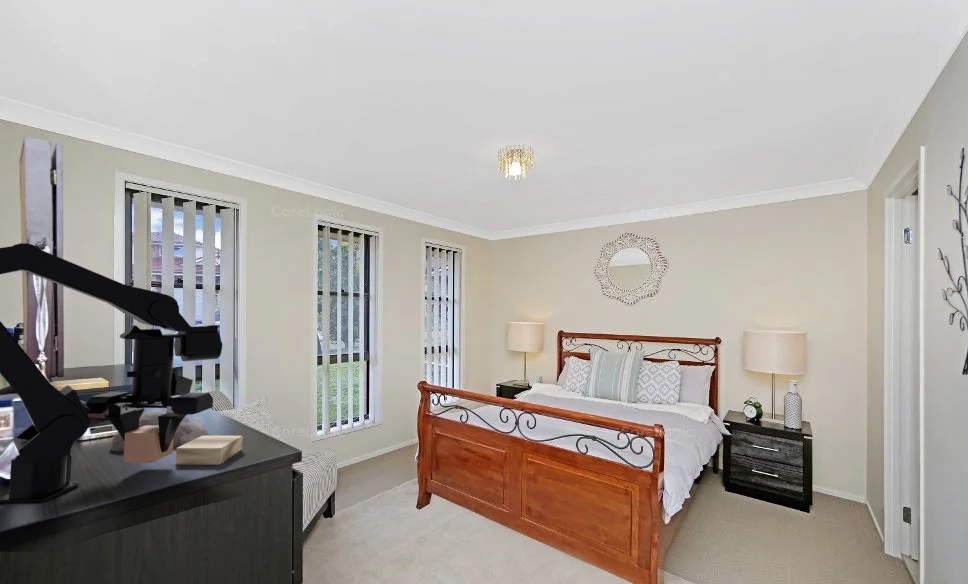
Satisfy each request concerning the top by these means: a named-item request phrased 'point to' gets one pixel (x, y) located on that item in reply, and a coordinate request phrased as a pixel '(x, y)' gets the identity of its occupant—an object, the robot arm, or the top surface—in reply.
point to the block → (144, 445)
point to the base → (208, 450)
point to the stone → (183, 435)
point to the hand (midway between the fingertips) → (149, 451)
